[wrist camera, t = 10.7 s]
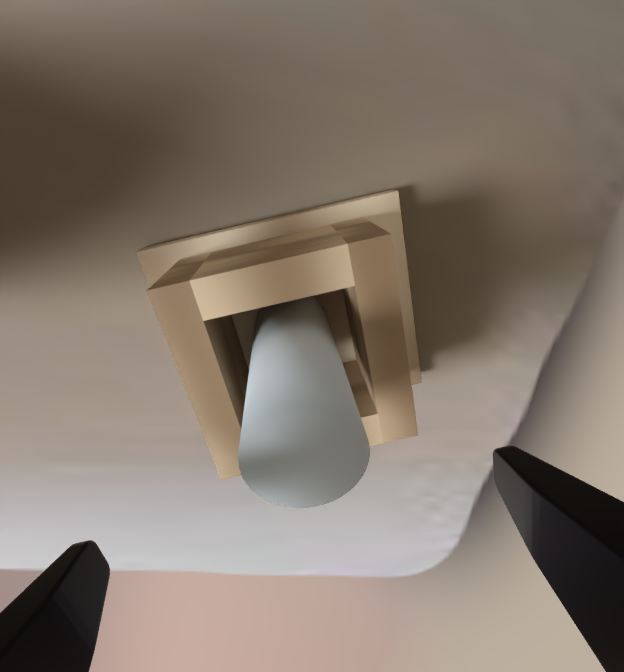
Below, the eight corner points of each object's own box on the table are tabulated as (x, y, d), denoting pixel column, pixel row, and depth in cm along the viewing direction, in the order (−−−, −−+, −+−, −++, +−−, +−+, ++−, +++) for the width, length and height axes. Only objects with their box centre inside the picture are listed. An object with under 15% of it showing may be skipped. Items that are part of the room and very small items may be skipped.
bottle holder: (208, 421, 23) (186, 502, 17) (142, 247, 19) (86, 281, 13) (415, 373, 23) (460, 440, 17) (392, 189, 19) (439, 198, 13)
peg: (265, 362, 21) (257, 519, 11) (247, 298, 19) (220, 418, 10) (332, 346, 21) (378, 492, 11) (318, 281, 19) (357, 386, 10)
